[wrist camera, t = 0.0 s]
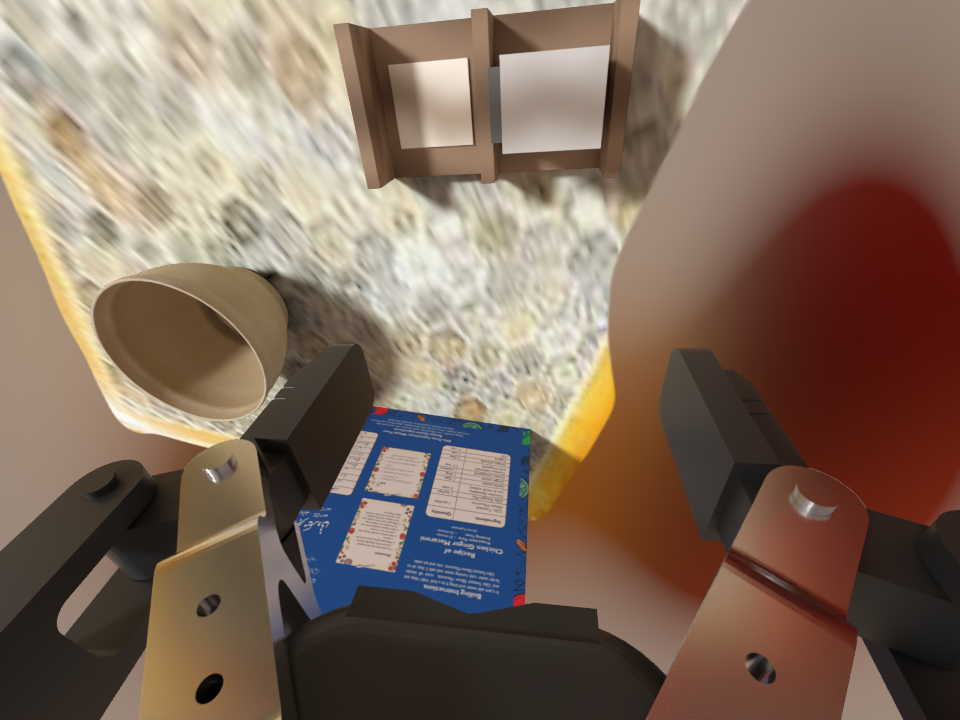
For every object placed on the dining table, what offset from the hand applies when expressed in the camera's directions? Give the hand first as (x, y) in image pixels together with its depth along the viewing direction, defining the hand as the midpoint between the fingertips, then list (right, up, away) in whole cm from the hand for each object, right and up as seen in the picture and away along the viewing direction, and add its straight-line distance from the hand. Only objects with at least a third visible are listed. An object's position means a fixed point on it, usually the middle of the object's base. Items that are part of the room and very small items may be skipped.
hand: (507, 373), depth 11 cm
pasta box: (-8, -10, +45) cm, 46 cm away
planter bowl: (-27, +7, +36) cm, 45 cm away
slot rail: (0, +21, +21) cm, 30 cm away
